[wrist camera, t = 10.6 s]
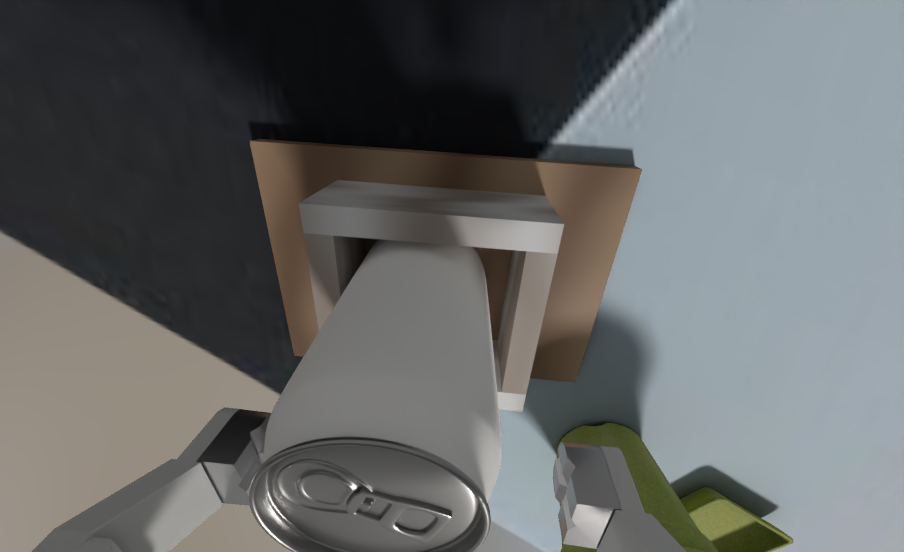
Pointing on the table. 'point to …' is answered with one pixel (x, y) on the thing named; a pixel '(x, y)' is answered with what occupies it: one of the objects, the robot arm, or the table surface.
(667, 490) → the plant pot
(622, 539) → the robot arm
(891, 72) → the table surface
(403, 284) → the can
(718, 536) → the saucer
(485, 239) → the socket board
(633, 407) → the table surface
